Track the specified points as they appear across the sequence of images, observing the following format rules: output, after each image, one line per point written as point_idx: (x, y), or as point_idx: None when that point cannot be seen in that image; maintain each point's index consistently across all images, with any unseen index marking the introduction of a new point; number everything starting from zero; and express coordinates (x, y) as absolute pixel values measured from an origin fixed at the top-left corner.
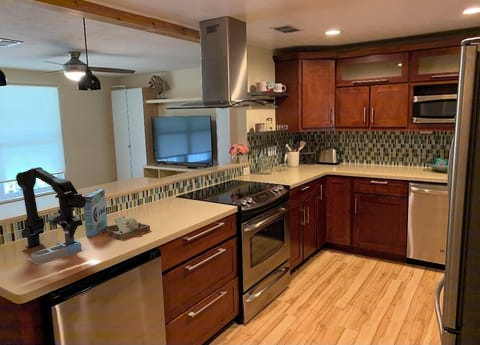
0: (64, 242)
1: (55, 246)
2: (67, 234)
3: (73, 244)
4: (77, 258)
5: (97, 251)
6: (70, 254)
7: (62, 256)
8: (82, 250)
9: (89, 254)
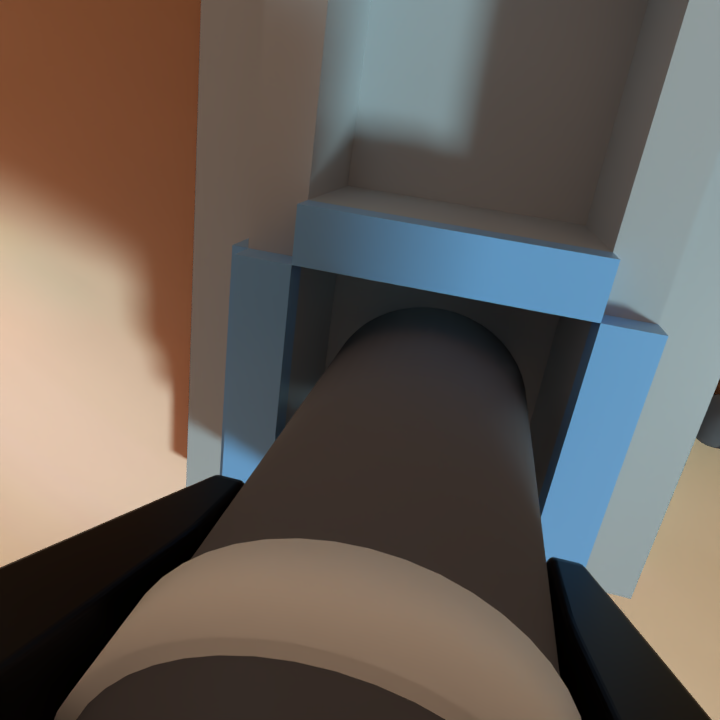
0: (618, 410)
1: (688, 105)
2: (219, 531)
3: (228, 397)
4: (31, 188)
5: (67, 516)
6: (196, 191)
7: (238, 24)
8: (200, 428)
9: (47, 393)
